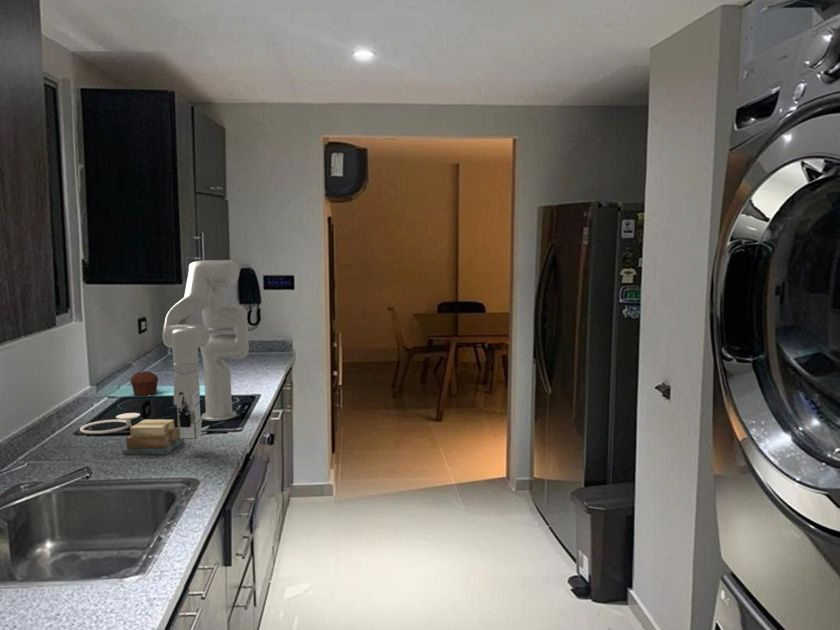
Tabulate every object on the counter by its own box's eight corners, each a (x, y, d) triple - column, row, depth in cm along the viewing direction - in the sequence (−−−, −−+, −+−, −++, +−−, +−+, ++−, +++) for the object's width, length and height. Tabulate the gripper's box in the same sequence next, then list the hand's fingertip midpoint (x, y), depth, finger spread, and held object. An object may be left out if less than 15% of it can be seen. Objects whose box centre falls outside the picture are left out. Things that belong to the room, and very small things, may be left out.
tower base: (142, 441, 236) (141, 417, 235) (183, 441, 235) (182, 418, 234) (122, 454, 222) (121, 429, 221) (166, 454, 221) (164, 429, 220)
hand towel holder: (89, 411, 261) (146, 409, 263) (89, 423, 261) (147, 421, 264) (71, 423, 244) (132, 420, 246) (72, 435, 245) (133, 433, 247)
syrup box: (202, 433, 226) (199, 389, 224) (196, 439, 220) (194, 394, 218) (183, 434, 226) (181, 389, 224) (178, 439, 220) (175, 394, 218)
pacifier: (207, 436, 242) (210, 430, 248) (206, 418, 241) (209, 413, 247) (185, 437, 241) (189, 431, 247) (184, 419, 241) (188, 414, 246)
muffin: (164, 392, 312) (162, 369, 311) (152, 397, 301) (150, 374, 300) (138, 391, 313) (137, 369, 312) (125, 397, 302) (124, 374, 301)
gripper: (185, 362, 229) (188, 416, 231) (163, 373, 211) (166, 432, 214) (208, 362, 228) (210, 416, 231) (187, 373, 211) (190, 432, 214)
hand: (189, 423), depth 222 cm, fingers closed on syrup box, 6 cm apart
